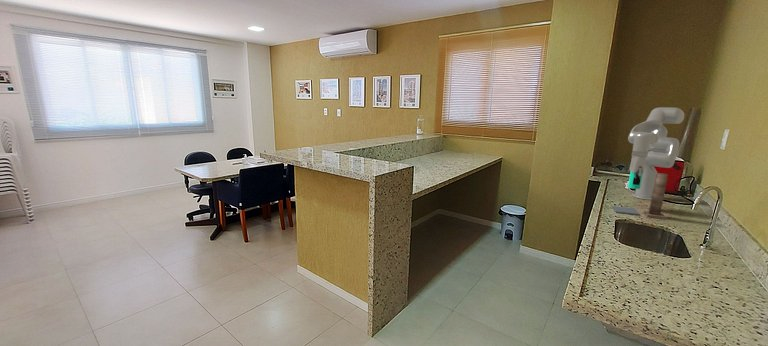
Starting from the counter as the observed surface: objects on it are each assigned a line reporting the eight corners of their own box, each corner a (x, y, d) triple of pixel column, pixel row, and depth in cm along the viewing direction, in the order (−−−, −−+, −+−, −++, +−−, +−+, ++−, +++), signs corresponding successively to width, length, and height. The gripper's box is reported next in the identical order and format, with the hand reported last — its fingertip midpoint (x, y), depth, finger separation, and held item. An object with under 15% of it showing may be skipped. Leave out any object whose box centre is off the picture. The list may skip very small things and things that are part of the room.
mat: (612, 207, 196) (612, 205, 195) (633, 209, 191) (634, 208, 191) (615, 212, 186) (616, 211, 186) (638, 215, 181) (639, 214, 181)
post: (643, 212, 186) (650, 172, 180) (660, 214, 182) (668, 173, 177) (647, 217, 179) (655, 175, 173) (665, 219, 175) (674, 176, 170)
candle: (642, 188, 190) (646, 169, 188) (632, 189, 190) (636, 169, 188) (635, 186, 196) (638, 167, 193) (625, 186, 196) (628, 167, 193)
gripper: (628, 151, 198) (623, 179, 202) (636, 156, 182) (631, 186, 187) (643, 152, 195) (637, 180, 199) (652, 156, 179) (646, 187, 184)
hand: (634, 183), depth 193 cm, fingers closed on candle, 4 cm apart
